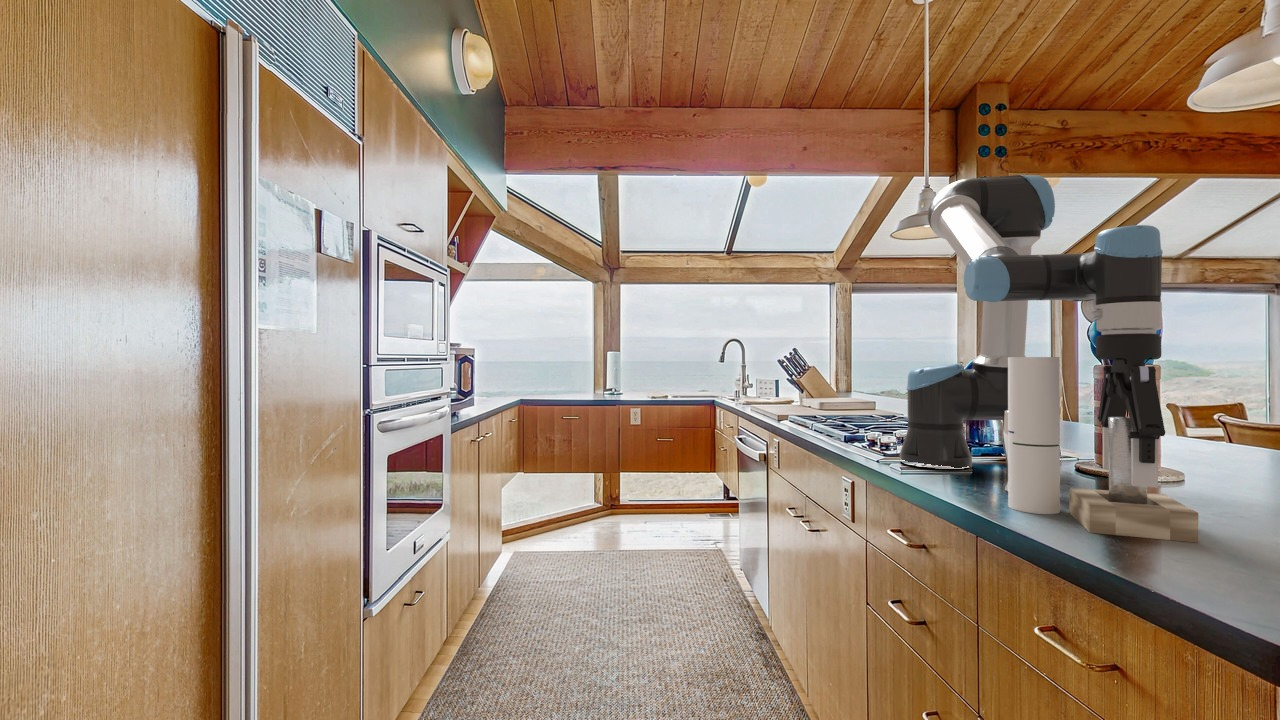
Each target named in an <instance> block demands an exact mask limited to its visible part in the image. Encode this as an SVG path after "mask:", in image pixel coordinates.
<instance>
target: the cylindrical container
mask: <svg viewBox="0 0 1280 720" xmlns="http://www.w3.org/2000/svg"><path fill="white" fill-rule="evenodd" d="M1060 358H1061V357H1060V356H1029V357H1027V356H1026V357H1008V430H1009V431H1008V491H1007V492H1008V495H1007V496H1008V497H1007V498H1008V499H1007V500H1008V505H1007V506H1008V507H1009V508H1010V509H1011V510H1015V511H1018V512H1022V513H1028V514H1029V513H1030V514H1039V515H1055V514H1059V513H1061V445H1060V444H1061V432H1060V431H1061V423H1060V421H1061V417H1060V414H1061V413H1060V410H1061V407H1060V406H1061V404H1060V403H1061V402H1060V401H1061V400H1060V399H1061V396H1060V395H1061V391H1060V390H1061V389H1060V386H1061V384H1060V383H1061V381H1060V380H1061V378H1060V376H1061V375H1060V370H1061V369H1060V367H1061V366H1060V365H1061V364H1060V362H1061V360H1060Z"/></svg>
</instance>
